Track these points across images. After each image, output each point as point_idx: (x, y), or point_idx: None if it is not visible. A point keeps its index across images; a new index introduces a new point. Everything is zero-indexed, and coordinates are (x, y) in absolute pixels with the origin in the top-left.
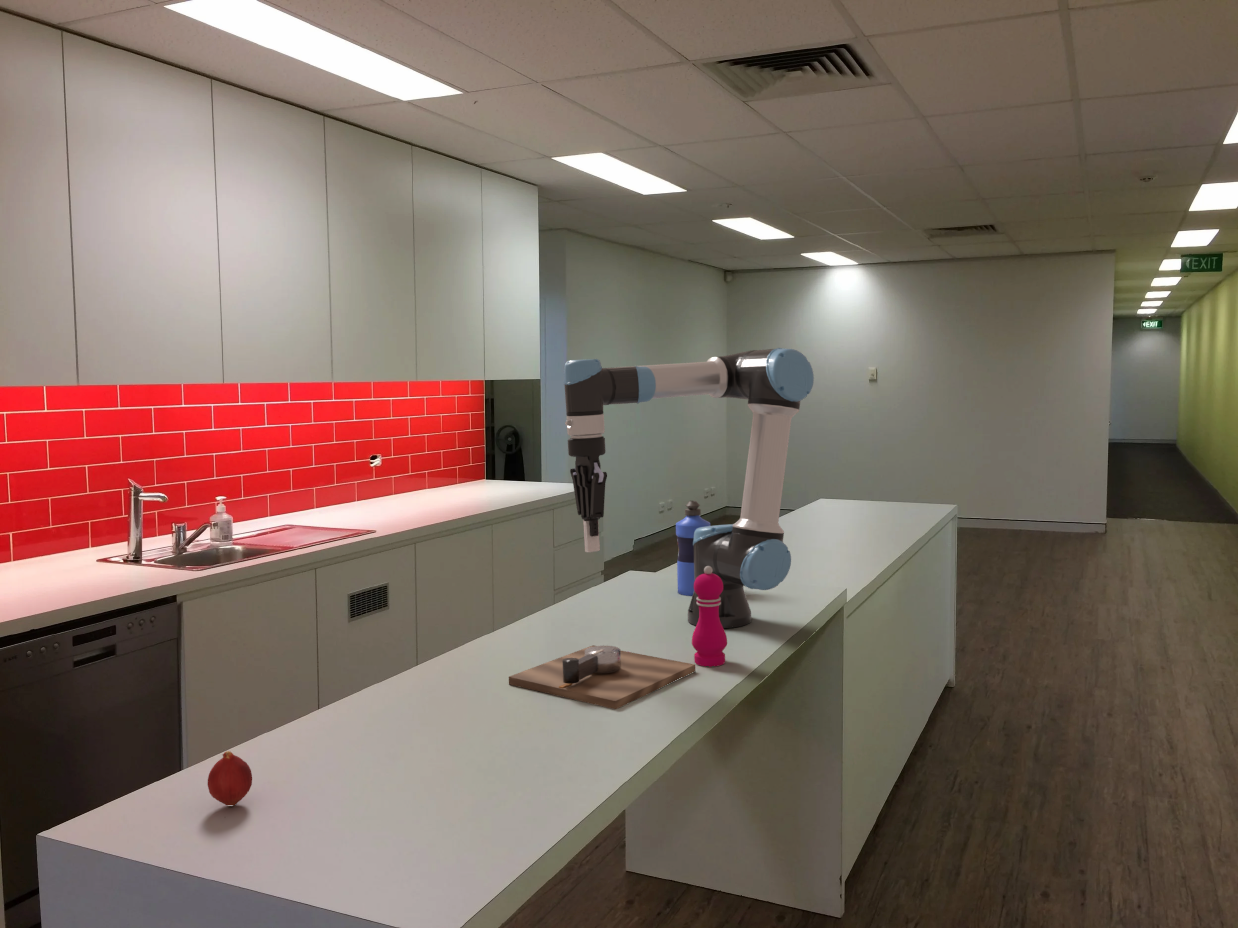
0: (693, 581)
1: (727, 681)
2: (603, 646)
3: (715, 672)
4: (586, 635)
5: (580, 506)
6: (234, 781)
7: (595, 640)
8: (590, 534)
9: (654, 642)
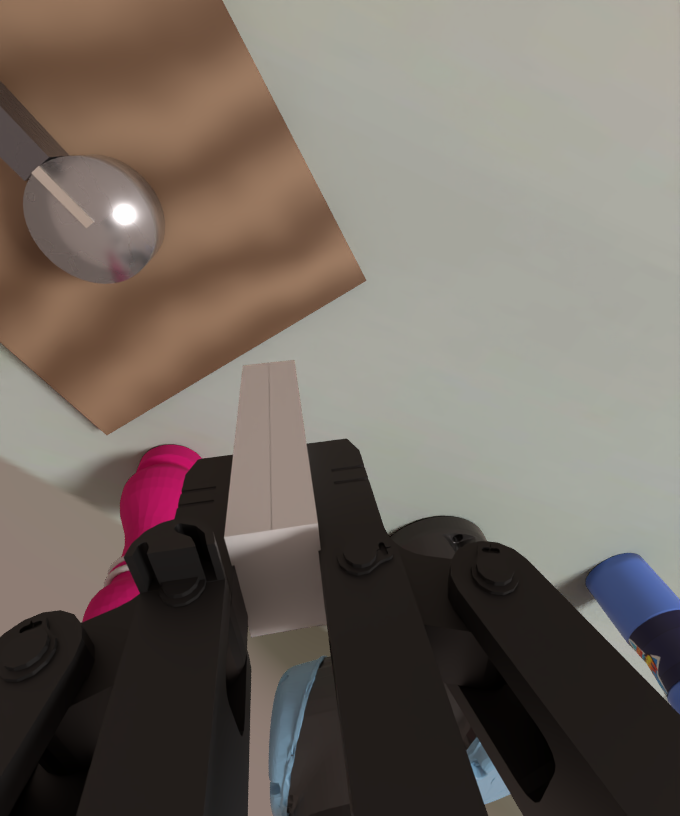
0: (613, 590)
1: (24, 456)
2: (140, 245)
3: (97, 456)
4: (505, 311)
5: (507, 680)
6: None
7: (453, 316)
8: (227, 462)
9: (363, 424)
